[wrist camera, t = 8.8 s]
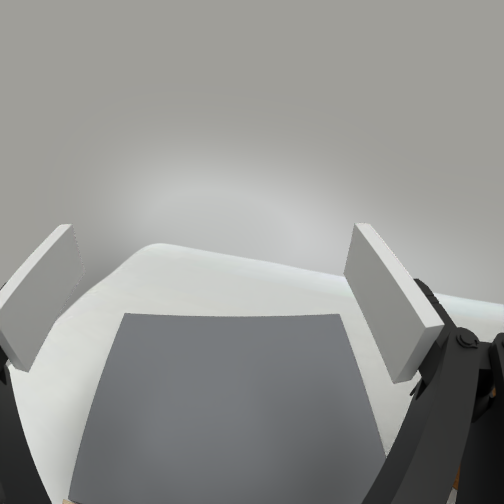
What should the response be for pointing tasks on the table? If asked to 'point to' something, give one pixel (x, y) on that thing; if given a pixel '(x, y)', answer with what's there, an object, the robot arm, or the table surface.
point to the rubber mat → (229, 415)
